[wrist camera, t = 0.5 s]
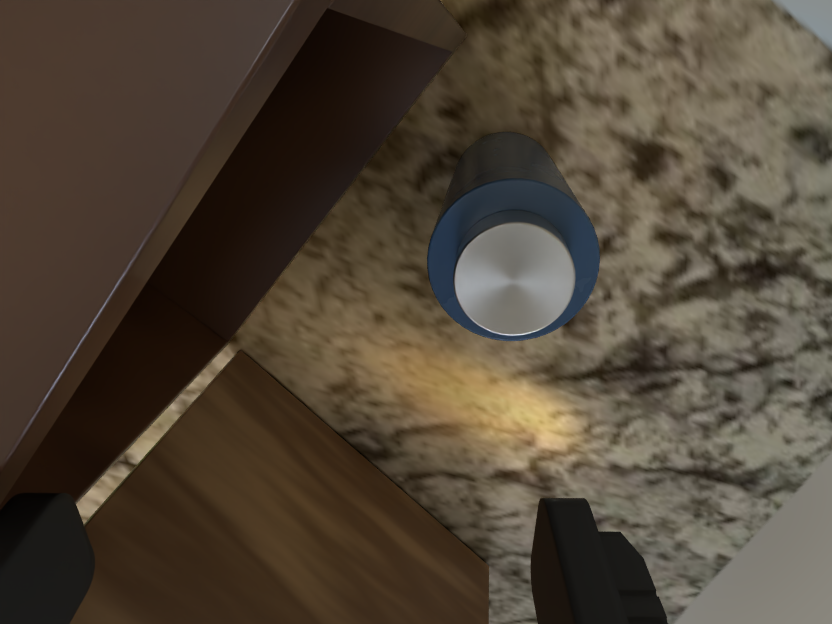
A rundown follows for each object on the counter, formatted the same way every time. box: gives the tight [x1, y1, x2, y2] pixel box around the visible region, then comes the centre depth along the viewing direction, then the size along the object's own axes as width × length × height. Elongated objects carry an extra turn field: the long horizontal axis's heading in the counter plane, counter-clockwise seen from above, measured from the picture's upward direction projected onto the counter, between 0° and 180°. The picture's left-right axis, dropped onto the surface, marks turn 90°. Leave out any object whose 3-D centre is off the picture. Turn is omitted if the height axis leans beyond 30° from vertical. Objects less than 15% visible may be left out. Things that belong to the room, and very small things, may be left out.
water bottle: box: [427, 132, 600, 341], centre depth 23 cm, size 5×5×14 cm
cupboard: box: [0, 0, 467, 510], centre depth 19 cm, size 16×22×24 cm
